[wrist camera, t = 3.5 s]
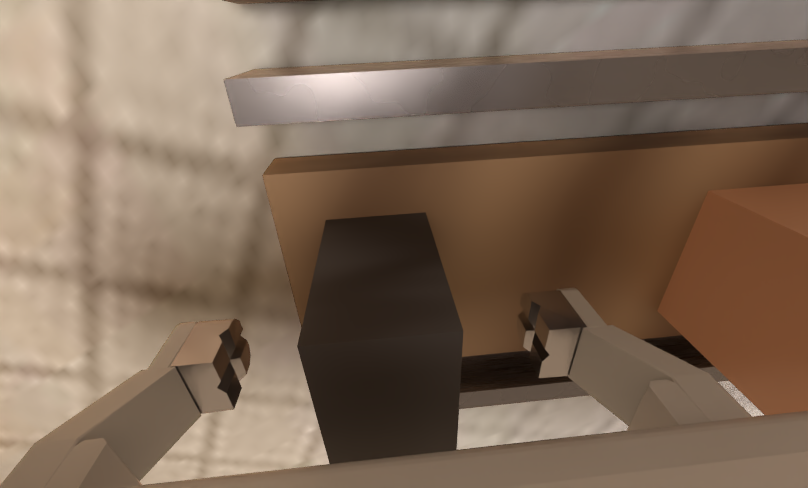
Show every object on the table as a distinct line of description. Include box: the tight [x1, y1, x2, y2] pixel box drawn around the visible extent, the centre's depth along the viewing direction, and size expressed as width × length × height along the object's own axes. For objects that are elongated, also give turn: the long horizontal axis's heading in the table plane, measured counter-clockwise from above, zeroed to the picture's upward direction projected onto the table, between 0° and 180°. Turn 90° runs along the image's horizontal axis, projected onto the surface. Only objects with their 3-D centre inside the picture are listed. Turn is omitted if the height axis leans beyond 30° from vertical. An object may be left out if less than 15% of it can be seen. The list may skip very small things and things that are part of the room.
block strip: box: [262, 123, 808, 464], centre depth 11 cm, size 20×8×6 cm, turn 92°
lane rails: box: [223, 39, 808, 420], centre depth 10 cm, size 22×24×2 cm
